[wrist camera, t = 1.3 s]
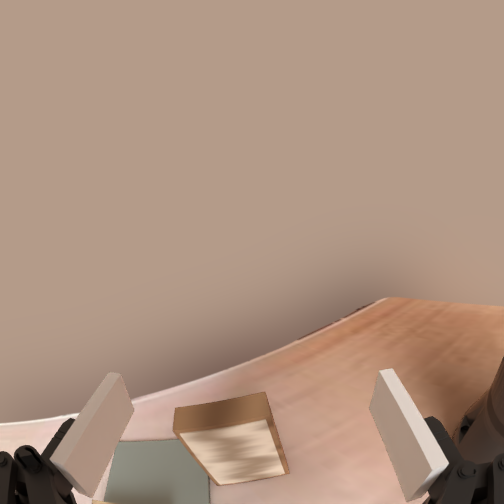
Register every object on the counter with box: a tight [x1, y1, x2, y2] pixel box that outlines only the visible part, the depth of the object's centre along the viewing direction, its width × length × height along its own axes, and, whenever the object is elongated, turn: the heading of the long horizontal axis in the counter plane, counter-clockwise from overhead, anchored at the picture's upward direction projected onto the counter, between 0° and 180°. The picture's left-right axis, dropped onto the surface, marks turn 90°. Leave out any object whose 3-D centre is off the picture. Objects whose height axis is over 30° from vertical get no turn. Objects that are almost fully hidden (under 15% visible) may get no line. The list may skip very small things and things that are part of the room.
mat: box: [104, 439, 210, 504], centre depth 24 cm, size 15×20×1 cm
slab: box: [173, 392, 289, 486], centre depth 25 cm, size 9×3×14 cm, turn 97°
